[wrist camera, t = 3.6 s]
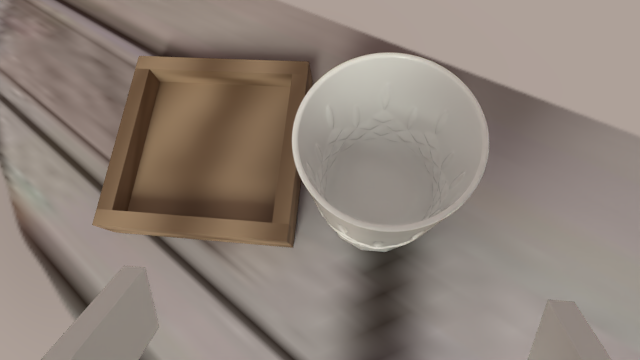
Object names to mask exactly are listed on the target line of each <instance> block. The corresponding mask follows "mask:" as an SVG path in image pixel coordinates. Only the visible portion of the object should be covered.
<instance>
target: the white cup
mask: <svg viewBox="0 0 640 360" xmlns="http://www.w3.org/2000/svg"><path fill="white" fill-rule="evenodd" d="M292 151H293V157H294V162H295V165H296V168H297V171H298V173H299V176H300V178H301V180H302V182H303V183H304V185H305V187H306V188H307V190H308V192H309V193H310V195H311V197H312V199H313V201H314V202H315V204H316V206H317V208H318V209H319V211H320V213H321V214H322V216H323V217H324V218H325V220H326V221H327V223H328V224H329V225H330V226H331V227H332V228H333V229H334V230H335V231H336V233H337V234H338V236H339V237H340V238H341V239H343V240H345V241H347V242H348V243H350V244H352V245H353V246H355V247H357V248H359V249H360V250H368V251H381V252H387V251H390V250H392V249H395V248H397V247H400V246H403V245H405V244H408V243H410V242H411V241H413V240H415V239H417V238H418V237H420V236H421V235H423V234H425V233H426V232H428V231H429V230H430V229H432V228H433V227H434V226H436V225H437V224H438V223H440V222H441V221H442V220H444V219H445V218H446V217H448V216H449V215H450V214H452V213H453V212H454V211H456V210H457V209H458V208H459V207H461V206H462V205H463V204H464V203H465V202H466V201H467V199H468V198H469V197H470V196H471V195H472V193H473V192H474V191H475V189H476V188H477V186H478V184H479V182H480V181H481V178H482V176H483V174H484V171H485V168H486V165H487V161H488V155H489V132H488V126H487V122H486V119H485V116H484V113H483V111H482V108H481V106H480V104H479V102H478V101H477V99H476V98H475V96H474V95H473V93H472V92H471V91H470V89H469V88H468V87H467V86H466V85H465V84H464V83H463V82H462V81H461V80H460V79H459V78H458V77H457V76H456V75H454V74H453V73H452V72H450V71H449V70H447V69H446V68H444V67H442V66H441V65H439V64H437V63H435V62H432V61H430V60H428V59H425V58H422V57H418V56H415V55H410V54H404V53H392V52H386V53H374V54H368V55H363V56H360V57H356V58H353V59H351V60H348V61H346V62H344V63H342V64H340V65H338V66H336V67H334V68H333V69H331V70H330V71H328V72H327V73H326V74H325V75H323V76H322V77H321V78H320V79H319V80H318V81H317V82H316V83H315V84H314V85H313V86H312V87H311V88H310V90H309V91H308V92H307V94H306V95H305V97H304V98H303V100H302V102H301V104H300V106H299V108H298V111H297V113H296V116H295V120H294V124H293V130H292Z"/></svg>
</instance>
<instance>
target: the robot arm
mask: <svg viewBox="0 0 640 360" xmlns="http://www.w3.org/2000/svg"><path fill="white" fill-rule="evenodd" d="M158 328H159V323H158V318H157V314H156V310H155V306H154V302H153V298H152V294H151V290H150V285H149V281H148V277H147V273H146V269H145V267H134V266H123V268H122V269H121V270H120V271H119V272H118V273H117V274H116V275H115V277H114V278H113V279H112V280H111V281H110V282H109V283H108V284H107V286H106V287H105V288H104V289H103V290H102V291H101V292H100V293H99V295H98V296H97V297H96V298H95V299H94V300H93V301H92V302H91V304H90V305H89V306H88V307H87V308H86V309H85V310H84V311H83V313H82V314H81V315H80V316H79V317H78V318H77V319H76V320H75V322H74V323H73V324H72V325H71V326H70V327H69V328H68V329H67V331H66V332H65V333H64V334H63V335H62V336H61V337H60V338H59V340H58V341H57V342H56V343H55V344H54V345H53V346H52V348H51V349H50V350H49V351H48V352H47V353H46V354H45V355H44V356H43V358H42V359H41V360H139V358H140V357H141V355H142V353H143V352H144V350H145V349H146V347H147V345H148V344H149V342H150V341H151V339H152V337H153V336H154V334H155V333H156V331H157V329H158ZM528 360H611V358H610V357H609V355H608V354H607V352H606V350H605V349H604V347H603V346H602V344H601V343H600V341H599V340H598V338H597V336H596V335H595V333H594V332H593V330H592V329H591V327H590V326H589V324H588V323H587V321H586V319H585V318H584V316H583V315H582V313H581V312H580V310H579V309H578V307H577V305H576V304H575V302H570V301H557V300H548V301H547V304H546V307H545V310H544V313H543V316H542V319H541V322H540V325H539V328H538V331H537V334H536V337H535V340H534V343H533V345H532V348H531V351H530V354H529V357H528Z"/></svg>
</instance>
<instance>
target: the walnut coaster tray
mask: <svg viewBox="0 0 640 360" xmlns="http://www.w3.org/2000/svg"><path fill="white" fill-rule="evenodd" d="M312 82H313V81H312V76H311V70H310V65H309V62H304V61H274V60H244V59H214V58H183V57H153V56H139V58H138V62H137V65H136V69H135V72H134V76H133V80H132V83H131V87H130V90H129V94H128V98H127V101H126V105H125V108H124V112H123V116H122V119H121V123H120V127H119V130H118V134H117V137H116V141H115V145H114V148H113V152H112V155H111V159H110V163H109V166H108V170H107V173H106V177H105V181H104V184H103V188H102V192H101V195H100V199H99V202H98V206H97V210H96V213H95V217H94V220H93V224H92V225H94V226H97V227H100V228H104V229H107V230H110V231H113V232H118V233H130V234H142V235H153V236H165V237H177V238H188V239H200V240H211V241H223V242H235V243H246V244H258V245H269V246H281V247H293V244H294V235H295V227H296V218H297V210H298V201H299V193H300V184H301V178H300V176H299V173H298V171H297V168H296V165H295V162H294V157H293V151H292V130H293V124H294V120H295V116H296V113H297V111H298V108H299V106H300V104H301V102H302V100H303V98H304V97H305V95H306V94H307V92H308V91H309V90H310V88H311V87H312Z"/></svg>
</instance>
